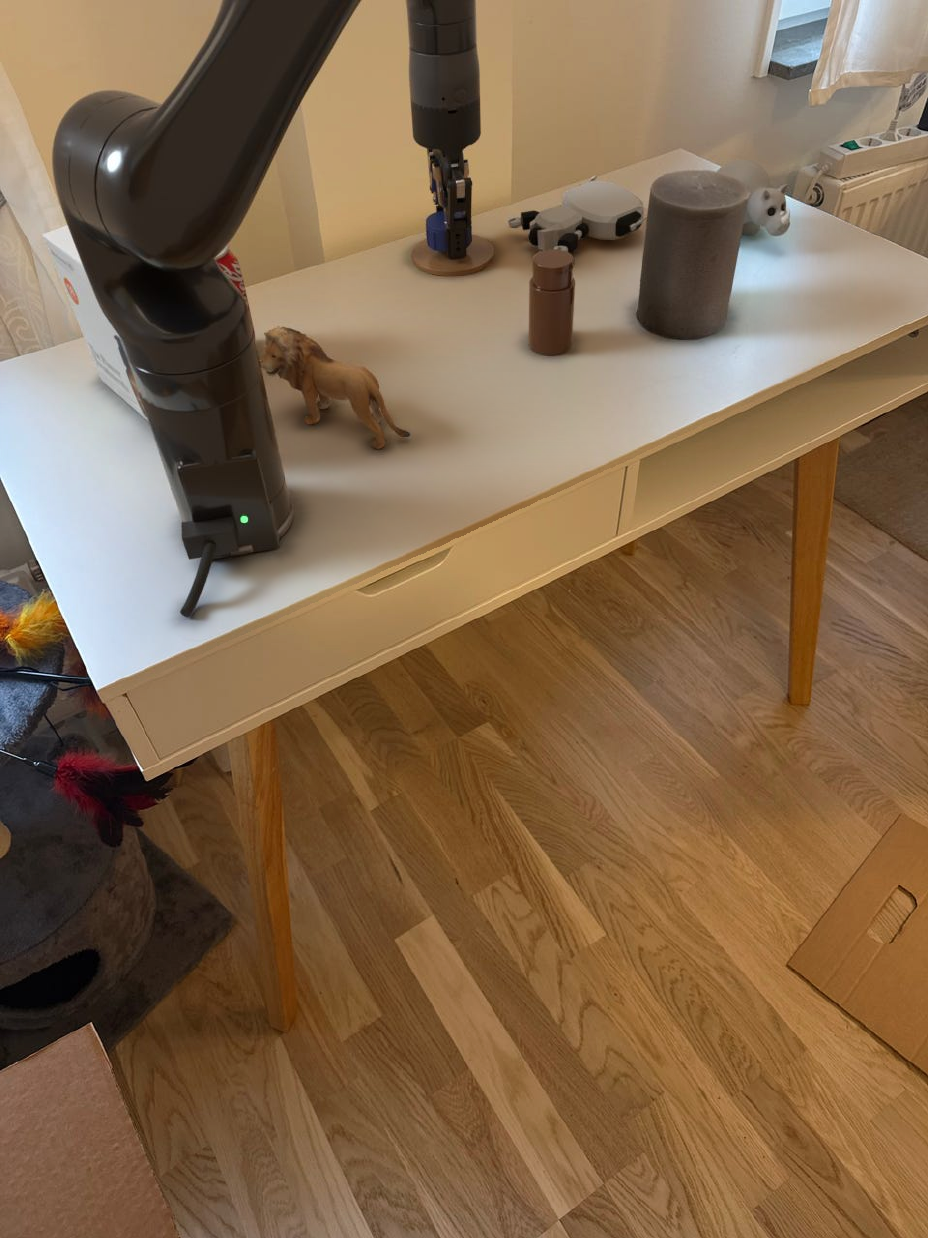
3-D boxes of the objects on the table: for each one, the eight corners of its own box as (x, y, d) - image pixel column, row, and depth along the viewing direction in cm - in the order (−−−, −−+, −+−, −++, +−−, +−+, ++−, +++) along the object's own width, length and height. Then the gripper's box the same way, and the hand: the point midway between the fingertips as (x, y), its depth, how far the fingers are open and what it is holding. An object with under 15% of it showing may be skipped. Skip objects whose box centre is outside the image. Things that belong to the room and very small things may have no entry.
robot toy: (560, 281, 109) (660, 238, 114) (559, 244, 106) (662, 201, 110) (502, 242, 117) (598, 203, 121) (500, 207, 113) (599, 168, 117)
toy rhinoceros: (755, 267, 108) (770, 192, 102) (689, 228, 116) (699, 157, 109) (801, 251, 111) (819, 177, 104) (734, 214, 118) (747, 143, 112)
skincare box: (95, 383, 96) (39, 231, 85) (142, 363, 99) (94, 213, 87) (200, 474, 85) (151, 314, 74) (250, 449, 88) (211, 290, 76)
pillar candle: (631, 335, 99) (646, 192, 88) (641, 291, 106) (656, 152, 95) (724, 344, 97) (751, 198, 86) (729, 298, 104) (755, 157, 93)
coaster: (502, 269, 110) (502, 264, 110) (420, 280, 109) (419, 276, 109) (483, 233, 117) (483, 228, 116) (405, 243, 116) (404, 238, 115)
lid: (460, 255, 109) (459, 232, 107) (419, 248, 111) (418, 225, 109) (478, 235, 112) (478, 213, 110) (438, 229, 114) (437, 206, 112)
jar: (577, 351, 97) (583, 264, 90) (535, 358, 97) (538, 272, 90) (563, 329, 100) (567, 244, 94) (522, 336, 100) (523, 251, 93)
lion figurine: (264, 422, 90) (245, 339, 84) (292, 393, 94) (276, 311, 87) (399, 456, 86) (389, 371, 79) (423, 424, 89) (417, 340, 83)
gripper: (399, 74, 104) (410, 225, 116) (423, 119, 94) (432, 278, 107) (464, 67, 105) (469, 217, 117) (495, 111, 95) (496, 269, 108)
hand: (451, 246), depth 112 cm, fingers closed on lid, 5 cm apart
